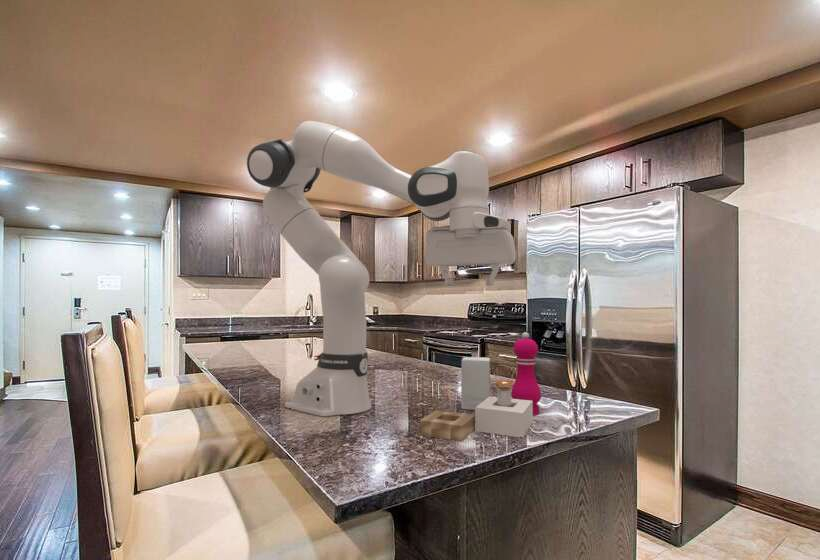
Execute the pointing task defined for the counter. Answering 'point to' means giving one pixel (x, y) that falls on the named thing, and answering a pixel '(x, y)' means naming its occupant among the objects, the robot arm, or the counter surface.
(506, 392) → the pin
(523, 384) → the pepper mill
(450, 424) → the mount
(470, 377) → the supplement box
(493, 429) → the dock
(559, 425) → the counter surface
